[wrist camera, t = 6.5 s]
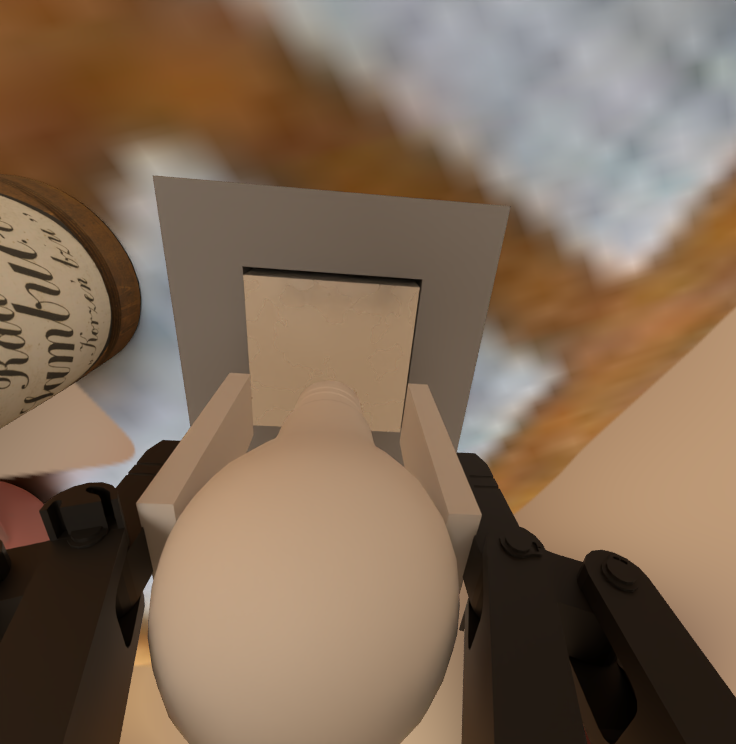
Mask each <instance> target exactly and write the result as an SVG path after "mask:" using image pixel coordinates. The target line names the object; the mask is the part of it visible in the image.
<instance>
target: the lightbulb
mask: <svg viewBox="0 0 736 744" xmlns="http://www.w3.org/2000/svg"><path fill="white" fill-rule="evenodd" d="M459 606H460V605H459V582H458V570H457V559H456V556H455V553H454V549H453V546H452V543H451V540H450V537H449V534H448V531H447V528H446V525H445V522H444V519H443V517H442V516H441V514H440V513H439V511H438V509H437V508H436V506H435V505H434V503H433V501H432V500H431V498H430V497H429V495H428V494H427V492H426V491H425V489H424V488H423V486H422V485H421V483H420V482H419V481H418V480H417V479H416V478H415V477H414V476H413V475H412V474H411V473H410V472H409V471H408V470H406V469H405V468H404V467H403V466H402V465H401V464H400V463H398V462H397V461H396V460H395V459H393V458H392V457H391V456H390V455H388V454H387V453H386V452H384V451H383V450H381V449H379V448H378V447H376V446H375V444H374V442H373V437H372V433H371V429H370V427H369V424H368V423H367V421H366V420H365V418H364V417H363V412H362V409H361V405H360V401H359V398H358V396H357V395H356V393H355V392H354V391H353V390H352V389H351V388H350V387H349V386H347V385H346V384H343V383H341V382H338V381H333V380H325V381H319V382H316V383H313V384H312V385H310V386H308V387H307V388H306V389H305V390H304V391H303V392H302V393H301V395H300V397H299V399H298V401H297V403H296V405H295V408H294V410H293V412H291V413H290V414H289V415H288V417H287V418H286V419H285V421H284V422H283V424H282V427H281V429H280V431H279V434H278V435H277V437H276V438H275V439H272V440H270V441H268V442H266V443H264V444H262V445H260V446H258V447H257V448H255V449H253V450H251V451H249V452H248V453H246V454H244V455H242V456H240V457H239V458H237V459H235V460H233V461H232V462H230V463H228V464H227V465H226V466H225V467H224V468H222V469H221V470H220V471H219V472H218V473H216V474H215V475H214V476H213V477H212V478H211V479H210V480H209V481H208V482H207V483H206V484H205V485H204V486H203V487H202V488H201V490H200V491H199V492H198V493H197V494H196V495H195V496H194V497H193V498H192V500H191V501H190V502H189V504H188V505H187V506H186V508H185V509H184V511H183V512H182V513H181V515H180V516H179V518H178V520H177V522H176V523H175V525H174V527H173V529H172V531H171V533H170V534H169V536H168V538H167V541H166V543H165V546H164V549H163V551H162V554H161V557H160V560H159V563H158V567H157V570H156V574H155V577H154V581H153V584H152V590H151V599H150V609H149V620H148V643H149V649H150V656H151V662H152V669H153V672H154V676H155V679H156V682H157V686H158V689H159V691H160V694H161V697H162V700H163V702H164V705H165V708H166V711H167V713H168V716H169V718H170V719H171V721H172V722H173V724H174V725H175V726H176V728H177V729H178V730H179V732H180V733H181V734H182V735H183V737H184V738H185V739H186V740H187V741H188V743H189V744H400V743H401V742H402V741H403V740H404V739H405V738H406V737H407V736H408V735H409V734H410V733H411V732H412V731H413V729H414V728H415V727H416V726H417V725H418V724H419V723H420V722H421V720H422V719H423V717H424V715H425V714H426V712H427V710H428V709H429V707H430V705H431V703H432V701H433V699H434V697H435V695H436V693H437V691H438V689H439V687H440V686H441V684H442V682H443V679H444V676H445V673H446V670H447V667H448V664H449V660H450V657H451V654H452V651H453V648H454V644H455V640H456V637H457V629H458V618H459Z"/></svg>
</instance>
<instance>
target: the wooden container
mask: <svg viewBox="0 0 736 744" xmlns="http://www.w3.org/2000/svg"><path fill="white" fill-rule="evenodd" d="M139 315H140V292H139V285H138V282H137V278H136V275H135V272H134V269H133V266H132V264H131V262H130V260H129V258H128V256H127V254H126V253H125V251H124V250H123V248H122V246H121V245H120V243H119V242H118V240H117V239H116V238H115V236H114V235H113V234H112V232H111V231H110V230H109V229H108V228H107V226H106V225H105V224H104V223H103V222H102V221H101V220H100V219H99V218H98V217H97V216H96V215H95V214H93V213H92V212H91V211H90V210H89V209H88V208H86V207H85V206H84V205H82V204H81V203H80V202H78V201H77V200H76V199H74V198H72V197H71V196H69V195H67V194H66V193H64V192H62V191H60V190H58V189H56V188H54V187H52V186H50V185H48V184H45V183H42V182H39V181H36V180H33V179H29V178H25V177H20V176H13V175H4V174H0V429H1V428H2V427H4V426H5V425H7V424H9V423H10V422H12V421H13V420H15V419H17V418H18V417H20V416H22V415H23V414H25V413H27V412H28V411H30V410H32V409H34V408H35V407H37V406H38V405H40V404H42V403H43V402H45V401H47V400H48V399H50V398H51V397H53V396H55V395H56V394H58V393H59V392H61V391H63V390H64V389H66V388H67V387H69V386H70V385H72V384H74V383H75V382H77V381H78V380H80V379H81V378H83V377H84V376H86V375H87V374H88V373H90V372H91V371H92V370H94V369H96V368H97V367H99V366H100V365H102V364H103V363H105V362H106V361H107V360H109V359H110V358H112V357H113V356H115V355H116V354H117V353H119V352H120V351H121V350H122V349H123V348H124V347H125V346H126V345H127V343H128V342H129V341H130V339H131V338H132V336H133V334H134V332H135V330H136V328H137V325H138V321H139Z"/></svg>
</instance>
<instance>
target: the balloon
mask: <svg viewBox="0 0 736 744" xmlns="http://www.w3.org/2000/svg"><path fill="white" fill-rule="evenodd" d="M43 505H44V504H43V503H42V502H41V501H40V500H39V499H38V498H36V497H35V496H34V495H32V494H31V493H29V492H28V491H26V490H24V489H22V488H20V487H17V486H15V485H12V484H9V483H6V482H2V481H0V540H1V541H2V542H3V544H4V546H5V548H6V549H11V548H16V547H21V546H26V545H30V544H35V543H40V542H44V541H48V540H50V539H49V537H48V534H47V531H46V529H45V526H44V523H43V521H42V518H41V515H40V513H39V510H40V509H41V508H42V507H43Z"/></svg>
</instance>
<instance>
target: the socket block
mask: <svg viewBox="0 0 736 744" xmlns="http://www.w3.org/2000/svg"><path fill="white" fill-rule="evenodd" d="M153 181H154V187H155V194H156V201H157V207H158V214H159V221H160V227H161V234H162V240H163V247H164V254H165V260H166V267H167V274H168V280H169V287H170V294H171V300H172V307H173V314H174V320H175V327H176V333H177V340H178V347H179V353H180V360H181V367H182V373H183V380H184V387H185V393H186V400H187V406H188V413H189V420H190V426H192V425H193V423H194V422H195V420H196V419H197V418H198V416H199V415H200V413H201V412H202V411H203V409H204V408H205V406H206V405H207V404H208V402H209V401H210V400H211V398H212V397H213V395H214V394H215V393H216V391H217V390H218V388H219V387H220V386H221V384H222V383H223V381H224V380H225V379H226V377H227V376H228V375H229V373H241V374H250V371H249V356H248V341H247V325H246V310H245V295H244V280H243V275H244V274H245V273H247V272H248V271H250V270H251V269H253V268H254V267H258V268H271V269H285V270H299V271H313V272H326V273H340V274H354V275H368V276H381V277H395V278H409V279H414V280H415V282H416V283H417V284H418V286H419V287H420V289H419V296H418V304H417V311H416V318H415V326H414V333H413V340H412V348H411V355H410V363H409V370H408V377H407V385H406V392H405V399H404V407H403V414H402V421H401V429H402V422H403V415H404V408H405V402H406V395H407V388H408V383H409V384H426V385H428V387H429V389H430V392H431V394H432V397H433V399H434V401H435V404H436V406H437V409H438V411H439V413H440V416H441V418H442V421H443V423H444V425H445V428H446V430H447V433H448V435H449V437H450V440H451V442H452V445H453V447H454V449H455V452H457V448H458V443H459V439H460V434H461V430H462V425H463V421H464V416H465V412H466V407H467V402H468V398H469V393H470V389H471V384H472V380H473V375H474V371H475V366H476V362H477V357H478V352H479V348H480V343H481V339H482V334H483V330H484V325H485V321H486V316H487V311H488V307H489V302H490V298H491V293H492V289H493V284H494V280H495V275H496V271H497V266H498V261H499V257H500V252H501V248H502V243H503V239H504V234H505V230H506V225H507V220H508V216H509V211H510V207H511V206H501V205H490V204H478V203H466V202H455V201H443V200H431V199H420V198H408V197H396V196H385V195H373V194H362V193H350V192H338V191H327V190H315V189H303V188H292V187H280V186H269V185H257V184H245V183H234V182H222V181H210V180H199V179H187V178H176V177H164V176H153ZM280 429H281V427H278V426H257V425H253V434H254V435H253V438H252V440H251V442H250V445H249V447H248V449H247V452H246V453H248V452H249V451H251V450H253V449H255V448H257V447H258V446H260V445H262V444H264V443H266V442H268V441H270V440H272V439H275V438H276V437H277V435H278V434H279V431H280ZM401 429H400V432H383V431H371V433H372V437H373V442H374V444H375V446H376V447H378V448H379V449H381V450H383V451H384V452H386V453H387V454H388V455H390V456H391V457H392V458H393V459H395V460H396V461H397V462H398V463H400V464H401V465H402V466H403V467H404V462H403V457H402V452H401V447H400V436H401ZM404 468H405V467H404Z"/></svg>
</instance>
